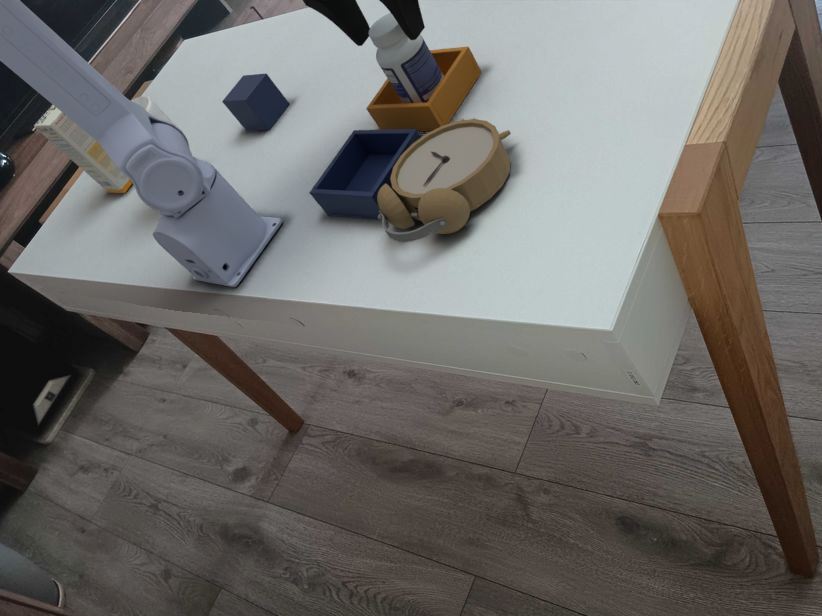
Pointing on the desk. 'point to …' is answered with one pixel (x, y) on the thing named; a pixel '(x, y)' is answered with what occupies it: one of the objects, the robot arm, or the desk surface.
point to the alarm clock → (444, 179)
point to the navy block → (256, 102)
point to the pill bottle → (405, 61)
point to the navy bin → (361, 172)
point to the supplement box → (82, 150)
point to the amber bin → (441, 104)
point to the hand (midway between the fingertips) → (390, 36)
